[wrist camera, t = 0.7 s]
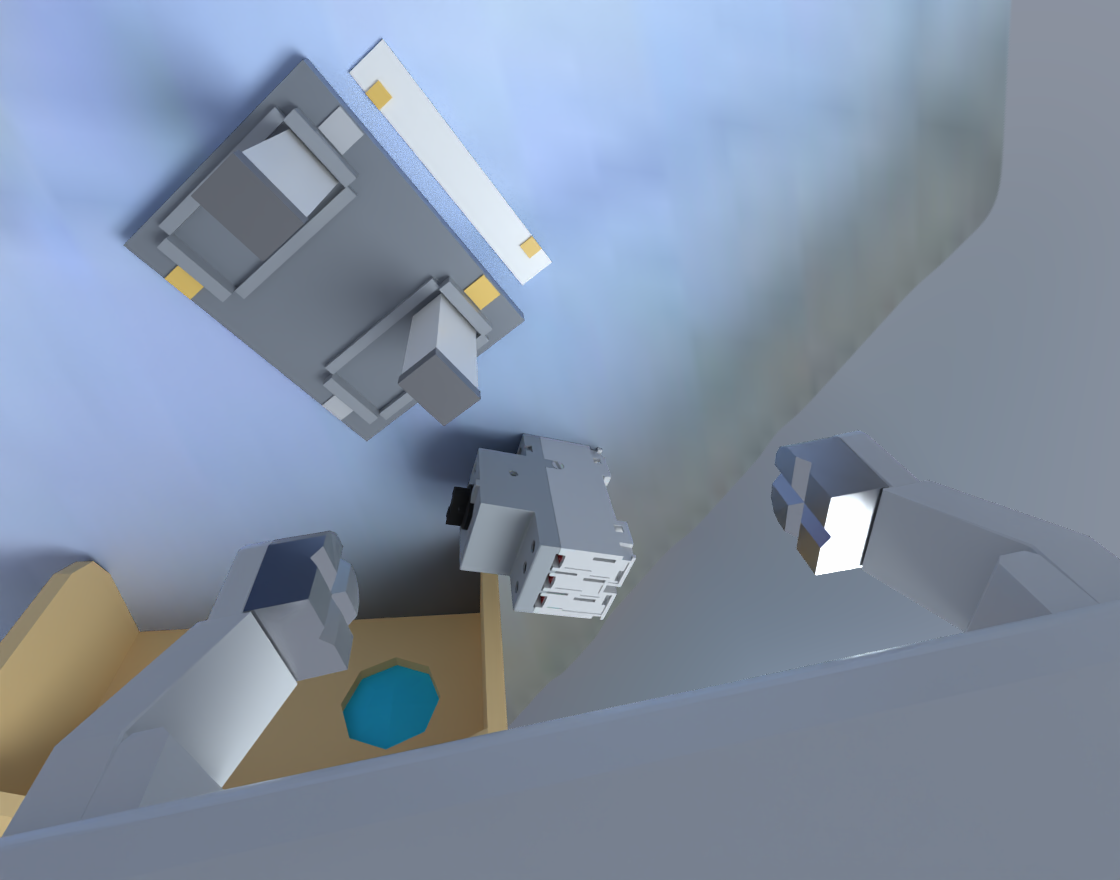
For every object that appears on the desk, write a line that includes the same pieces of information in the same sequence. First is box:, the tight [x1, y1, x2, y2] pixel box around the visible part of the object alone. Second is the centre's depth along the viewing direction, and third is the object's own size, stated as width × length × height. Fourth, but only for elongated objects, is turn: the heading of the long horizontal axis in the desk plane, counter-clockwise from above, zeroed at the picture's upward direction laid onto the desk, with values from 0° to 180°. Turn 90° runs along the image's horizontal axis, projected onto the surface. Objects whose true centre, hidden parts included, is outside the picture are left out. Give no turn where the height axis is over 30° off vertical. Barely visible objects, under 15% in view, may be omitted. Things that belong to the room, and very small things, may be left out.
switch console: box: [124, 39, 552, 441], centre depth 42 cm, size 22×22×3 cm
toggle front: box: [191, 129, 339, 262], centre depth 34 cm, size 3×4×11 cm
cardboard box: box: [0, 561, 507, 837], centre depth 55 cm, size 40×26×24 cm, turn 85°
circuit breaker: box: [446, 434, 636, 620], centre depth 51 cm, size 8×14×15 cm, turn 71°
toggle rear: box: [398, 293, 481, 426], centre depth 41 cm, size 3×4×11 cm
